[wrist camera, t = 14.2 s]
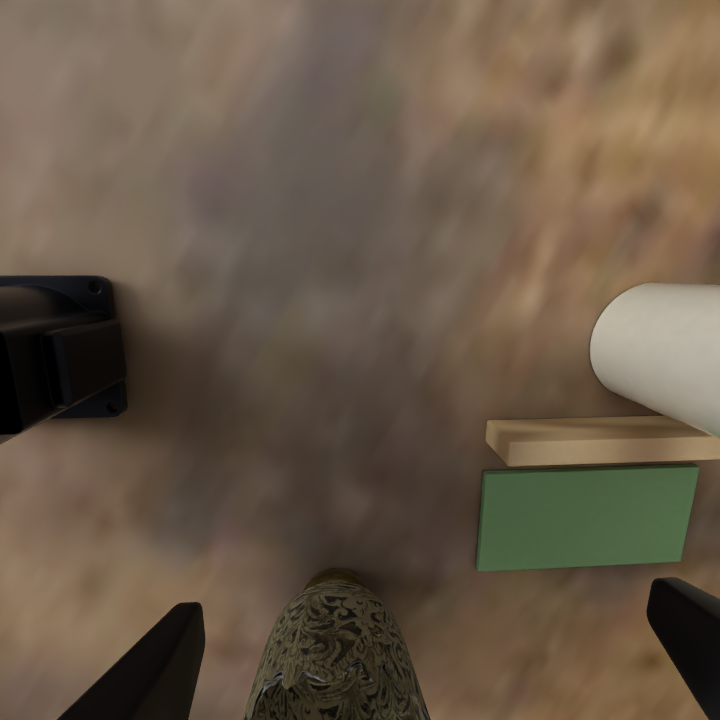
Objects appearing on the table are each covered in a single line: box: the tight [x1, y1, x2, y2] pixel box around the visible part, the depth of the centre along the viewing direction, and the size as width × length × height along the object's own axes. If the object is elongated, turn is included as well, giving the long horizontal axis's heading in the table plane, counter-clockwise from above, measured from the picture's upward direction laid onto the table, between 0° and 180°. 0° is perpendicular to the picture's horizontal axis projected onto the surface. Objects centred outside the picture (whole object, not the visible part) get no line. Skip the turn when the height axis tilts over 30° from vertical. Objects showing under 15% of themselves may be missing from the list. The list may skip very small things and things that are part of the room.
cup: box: [243, 568, 431, 720], centre depth 18 cm, size 8×7×8 cm
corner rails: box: [486, 416, 720, 466], centre depth 19 cm, size 13×11×3 cm
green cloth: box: [476, 464, 700, 572], centre depth 22 cm, size 12×6×1 cm, turn 90°
